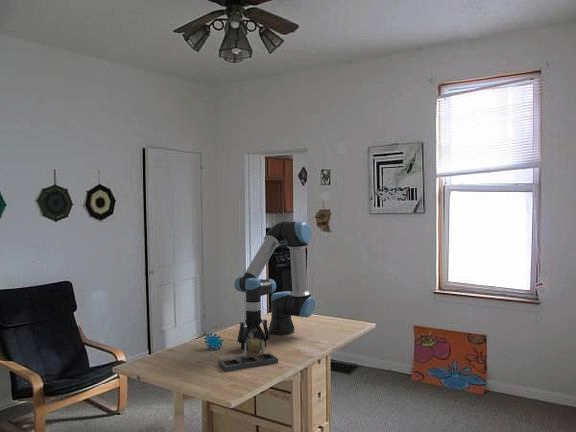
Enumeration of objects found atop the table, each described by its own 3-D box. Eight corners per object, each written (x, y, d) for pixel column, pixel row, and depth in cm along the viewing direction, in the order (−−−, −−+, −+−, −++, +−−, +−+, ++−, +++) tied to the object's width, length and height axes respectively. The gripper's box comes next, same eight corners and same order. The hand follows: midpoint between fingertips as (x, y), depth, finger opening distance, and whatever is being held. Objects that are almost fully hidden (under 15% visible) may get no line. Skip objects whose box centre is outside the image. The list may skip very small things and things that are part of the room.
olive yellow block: (256, 353, 246) (256, 337, 245) (259, 355, 241) (259, 339, 241) (248, 354, 244) (247, 338, 243) (251, 357, 240) (251, 341, 239)
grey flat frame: (269, 356, 240) (269, 352, 240) (278, 362, 231) (278, 358, 231) (218, 365, 229) (218, 360, 229) (225, 371, 220) (225, 367, 219)
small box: (240, 347, 255) (239, 328, 255) (249, 345, 260) (249, 325, 259) (254, 352, 248) (253, 331, 247) (263, 349, 253) (263, 328, 252)
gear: (208, 349, 248) (203, 332, 254) (203, 355, 251) (198, 338, 257) (227, 347, 255) (221, 331, 261) (222, 354, 258) (217, 337, 264)
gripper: (270, 306, 250) (271, 349, 250) (229, 310, 241) (230, 355, 241) (276, 308, 243) (276, 353, 244) (234, 313, 234) (235, 360, 234)
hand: (253, 354), depth 242 cm, fingers open, 9 cm apart
